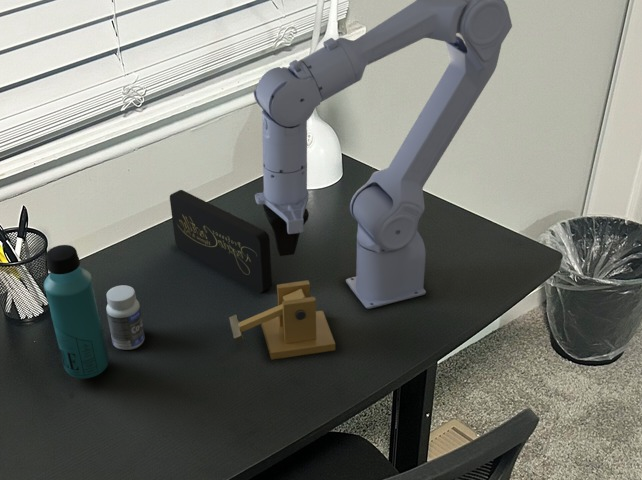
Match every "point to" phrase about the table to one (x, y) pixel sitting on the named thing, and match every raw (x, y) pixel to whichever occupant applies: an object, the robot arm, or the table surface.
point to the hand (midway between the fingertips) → (286, 252)
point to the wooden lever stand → (297, 325)
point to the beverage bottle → (75, 314)
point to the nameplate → (222, 240)
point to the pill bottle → (124, 318)
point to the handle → (260, 317)
